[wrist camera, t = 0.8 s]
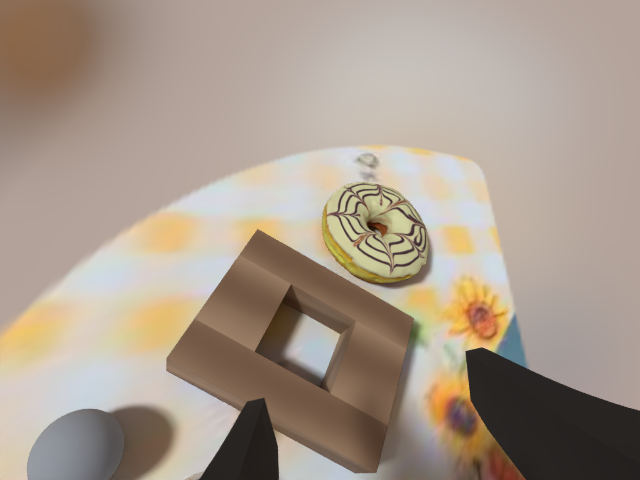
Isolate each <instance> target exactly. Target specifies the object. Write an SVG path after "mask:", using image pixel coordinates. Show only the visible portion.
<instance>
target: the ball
mask: <svg viewBox="0 0 640 480" xmlns="http://www.w3.org/2000/svg"><path fill="white" fill-rule="evenodd" d="M124 444H125V442H124V434H123V430H122V427H121V426H120V424H119V422H118V421H117V420H116V419H115V418H114V417H113V416H112V415H110V414H109V413H107V412H104V411H102V410H98V409H82V410H77V411H74V412H71V413H68V414H66V415H64V416H62V417H60V418H59V419H57V420H56V421H54V422H53V423H52V424H50V425H49V426H48V427H47V428H46V429H45V430H44V431H43V432H42V433H41V435H40V436H39V437H38V439H37V440H36V442H35V443H34V445H33V447H32V449H31V452H30V455H29V458H28V463H27V476H28V480H109V479H110V478H111V477H112V475H113V474H114V472H115V471H116V469H117V468H118V466H119V464H120V461H121V459H122V456H123V452H124Z"/></svg>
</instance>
